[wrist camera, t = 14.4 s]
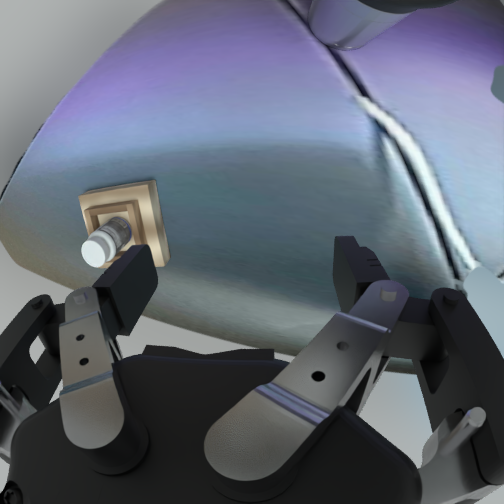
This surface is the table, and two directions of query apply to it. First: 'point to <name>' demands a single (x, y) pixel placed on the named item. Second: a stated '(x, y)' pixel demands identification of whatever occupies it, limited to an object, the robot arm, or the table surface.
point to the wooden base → (129, 216)
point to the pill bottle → (106, 241)
